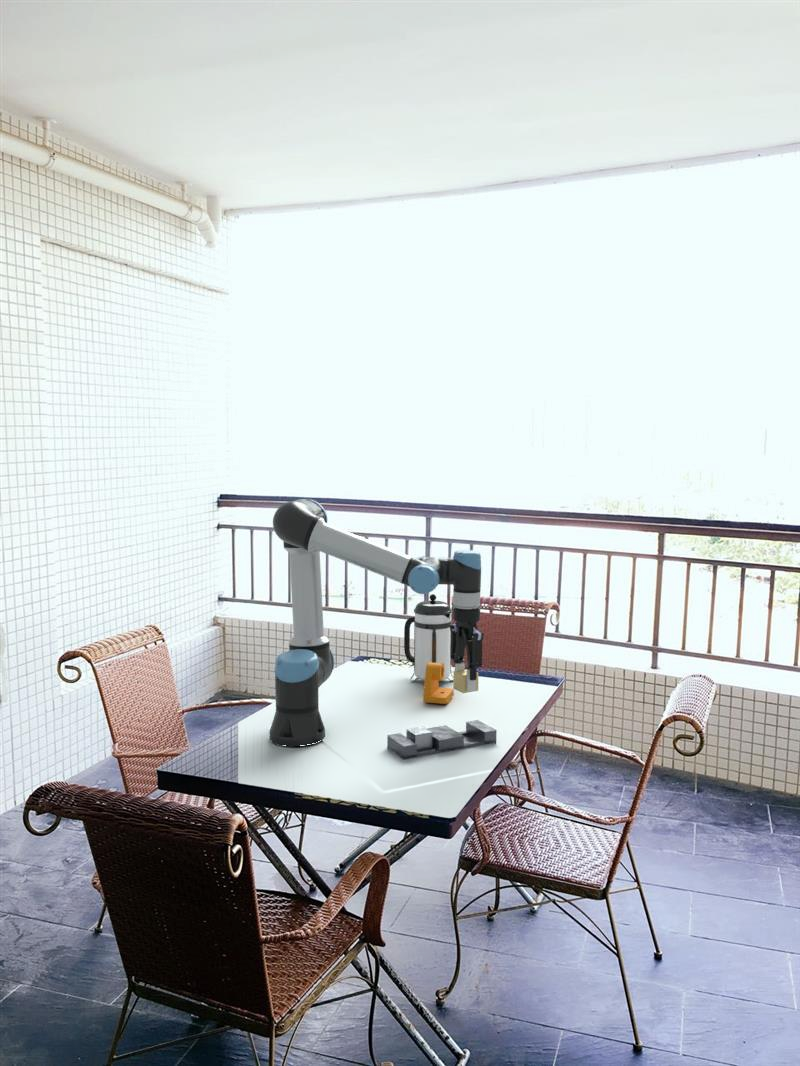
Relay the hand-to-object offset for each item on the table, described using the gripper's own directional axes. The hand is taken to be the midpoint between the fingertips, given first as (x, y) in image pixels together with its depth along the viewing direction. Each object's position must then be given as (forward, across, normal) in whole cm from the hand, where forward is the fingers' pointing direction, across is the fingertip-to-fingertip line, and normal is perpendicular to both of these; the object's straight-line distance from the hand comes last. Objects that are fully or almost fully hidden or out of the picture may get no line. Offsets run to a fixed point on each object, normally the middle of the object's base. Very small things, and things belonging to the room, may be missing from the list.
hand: (465, 688), depth 241 cm
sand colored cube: (0, 0, 0) cm, 0 cm away
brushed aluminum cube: (+12, -7, +19) cm, 24 cm away
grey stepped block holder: (+12, -8, +12) cm, 19 cm away
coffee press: (+13, +49, -18) cm, 54 cm away
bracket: (+13, +29, -9) cm, 33 cm away
